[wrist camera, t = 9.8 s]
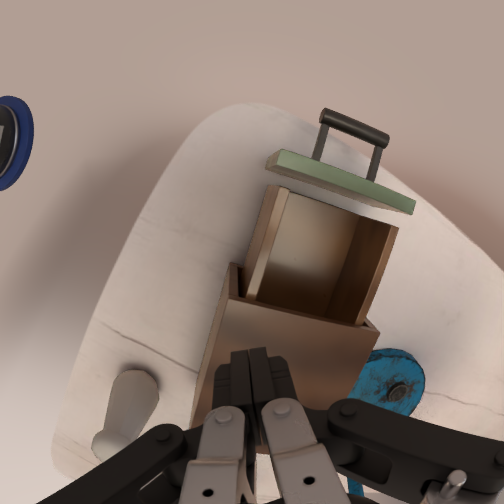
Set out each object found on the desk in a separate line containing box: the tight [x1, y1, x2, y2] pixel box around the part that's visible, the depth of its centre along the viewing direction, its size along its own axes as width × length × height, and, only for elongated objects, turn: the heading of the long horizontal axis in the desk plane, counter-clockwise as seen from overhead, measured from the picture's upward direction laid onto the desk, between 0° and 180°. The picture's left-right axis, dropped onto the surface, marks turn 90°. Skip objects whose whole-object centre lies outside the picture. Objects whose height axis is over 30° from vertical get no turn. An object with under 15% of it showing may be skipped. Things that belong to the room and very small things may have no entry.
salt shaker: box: [91, 370, 159, 462], centre depth 27 cm, size 6×6×13 cm
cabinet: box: [189, 262, 380, 455], centre depth 28 cm, size 16×13×10 cm
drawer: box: [238, 108, 416, 326], centre depth 25 cm, size 19×11×8 cm, turn 163°
